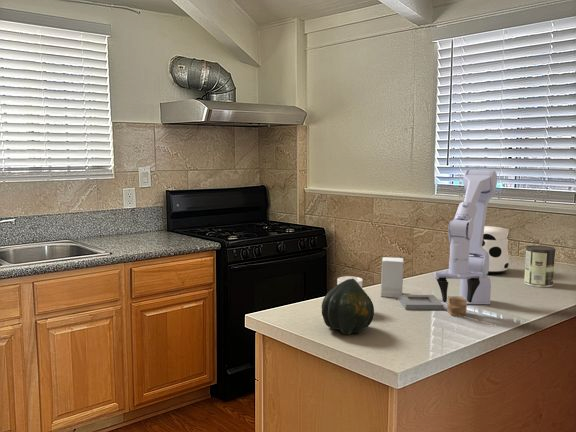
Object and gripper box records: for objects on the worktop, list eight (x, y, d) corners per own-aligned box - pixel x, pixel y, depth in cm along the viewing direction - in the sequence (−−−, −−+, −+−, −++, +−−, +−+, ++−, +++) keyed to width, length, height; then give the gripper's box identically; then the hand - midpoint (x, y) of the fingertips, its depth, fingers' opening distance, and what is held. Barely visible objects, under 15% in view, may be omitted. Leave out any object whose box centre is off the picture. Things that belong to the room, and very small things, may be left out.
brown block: (461, 311, 180) (462, 296, 180) (465, 316, 176) (466, 300, 175) (447, 311, 180) (447, 296, 179) (451, 316, 176) (452, 300, 175)
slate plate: (433, 299, 194) (433, 295, 193) (443, 309, 182) (443, 304, 182) (397, 299, 194) (398, 294, 193) (405, 309, 182) (405, 304, 181)
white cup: (364, 308, 183) (364, 277, 182) (358, 314, 175) (359, 283, 174) (340, 305, 185) (340, 275, 184) (333, 312, 178) (334, 280, 177)
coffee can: (546, 281, 222) (548, 245, 220) (558, 287, 212) (560, 250, 210) (519, 280, 222) (521, 244, 220) (529, 287, 212) (532, 249, 210)
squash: (322, 321, 151) (358, 277, 153) (305, 307, 165) (337, 267, 167) (359, 352, 155) (393, 309, 157) (339, 336, 169) (370, 297, 171)
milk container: (512, 270, 241) (515, 227, 239) (503, 278, 226) (506, 233, 224) (470, 265, 250) (472, 224, 248) (459, 272, 236) (461, 229, 233)
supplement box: (402, 298, 195) (403, 261, 194) (380, 296, 197) (381, 260, 195) (402, 292, 202) (403, 257, 201) (381, 291, 204) (382, 256, 202)
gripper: (439, 260, 172) (437, 304, 173) (487, 261, 172) (484, 305, 173) (432, 256, 179) (431, 298, 180) (479, 256, 179) (476, 299, 180)
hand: (456, 301), depth 177 cm, fingers open, 7 cm apart
